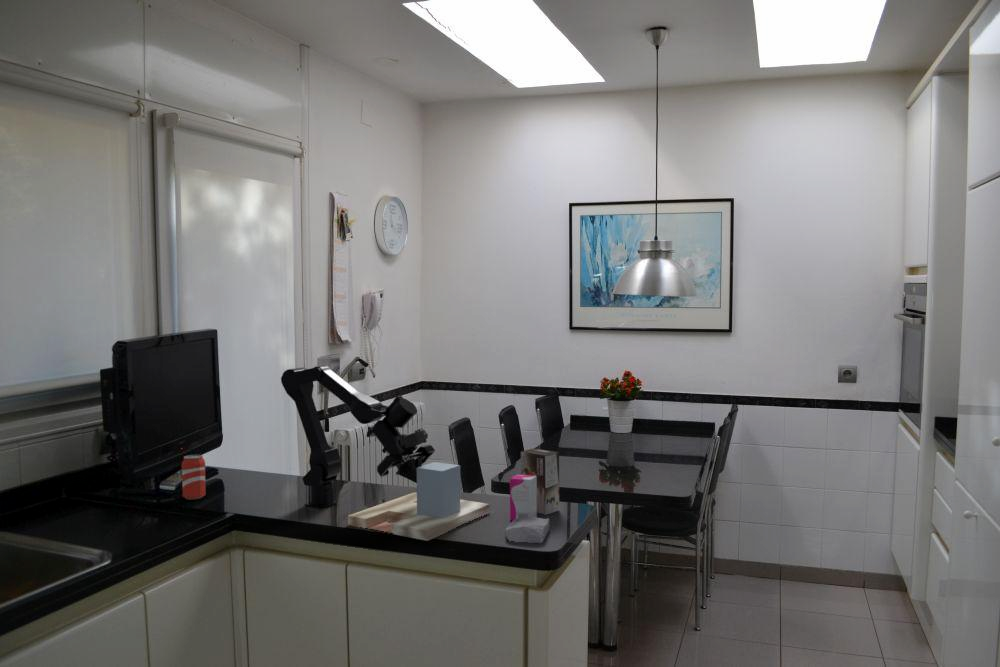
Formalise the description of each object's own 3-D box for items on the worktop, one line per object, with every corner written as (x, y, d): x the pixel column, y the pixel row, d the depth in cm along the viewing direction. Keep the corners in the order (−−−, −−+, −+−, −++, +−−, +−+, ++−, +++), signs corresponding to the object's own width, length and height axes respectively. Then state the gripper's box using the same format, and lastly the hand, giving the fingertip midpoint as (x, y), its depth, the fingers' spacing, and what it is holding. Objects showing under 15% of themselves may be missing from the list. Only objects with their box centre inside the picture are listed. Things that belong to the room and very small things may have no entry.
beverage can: (197, 493, 236) (196, 453, 235) (210, 497, 232) (209, 456, 231) (178, 498, 231) (177, 456, 230) (191, 501, 227) (190, 459, 226)
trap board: (348, 525, 204) (348, 515, 204) (415, 500, 228) (415, 492, 227) (427, 540, 191) (427, 530, 191) (489, 513, 215) (489, 504, 215)
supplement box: (537, 518, 210) (537, 475, 209) (530, 524, 204) (530, 480, 204) (516, 516, 212) (516, 473, 211) (509, 522, 206) (509, 478, 206)
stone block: (505, 550, 190) (545, 544, 188) (501, 530, 190) (541, 523, 188) (514, 537, 202) (552, 531, 200) (510, 518, 202) (548, 512, 200)
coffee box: (560, 510, 217) (560, 452, 216) (545, 515, 213) (545, 455, 212) (534, 504, 224) (535, 447, 223) (519, 509, 219) (519, 451, 218)
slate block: (416, 514, 205) (416, 467, 204) (435, 506, 212) (435, 462, 211) (442, 518, 201) (442, 471, 200) (460, 511, 208) (460, 465, 207)
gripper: (385, 424, 202) (420, 473, 197) (429, 415, 218) (463, 459, 213) (361, 452, 206) (395, 500, 201) (406, 441, 222) (439, 485, 217)
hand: (424, 485), depth 208 cm, fingers closed, pressing on slate block
